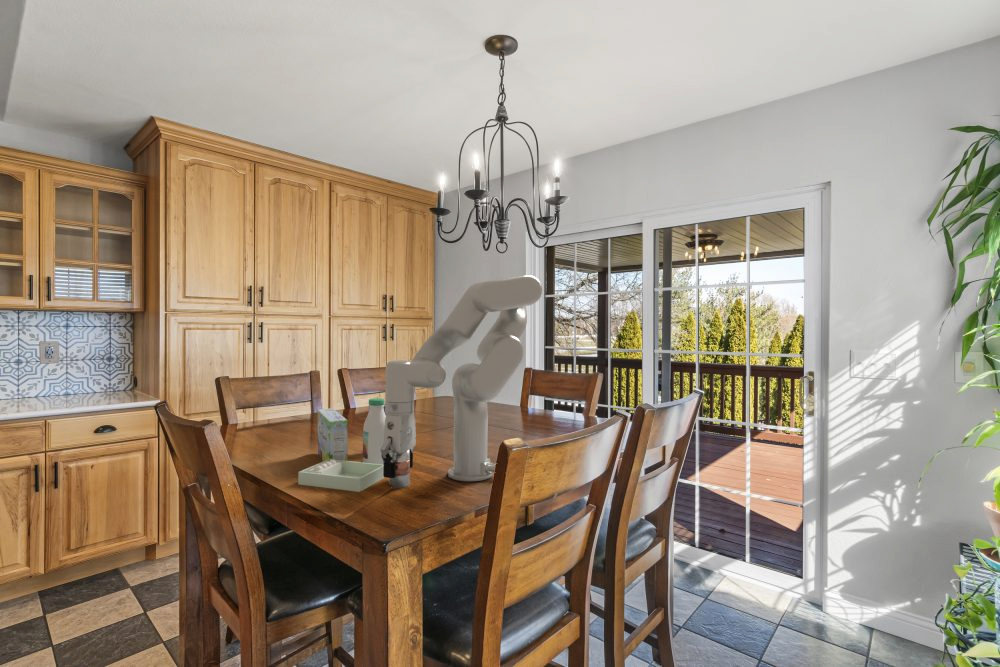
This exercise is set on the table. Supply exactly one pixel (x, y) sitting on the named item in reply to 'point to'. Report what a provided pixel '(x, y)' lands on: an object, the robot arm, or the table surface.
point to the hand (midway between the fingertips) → (398, 472)
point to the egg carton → (328, 468)
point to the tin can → (401, 470)
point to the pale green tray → (344, 476)
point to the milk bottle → (374, 432)
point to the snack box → (332, 435)
